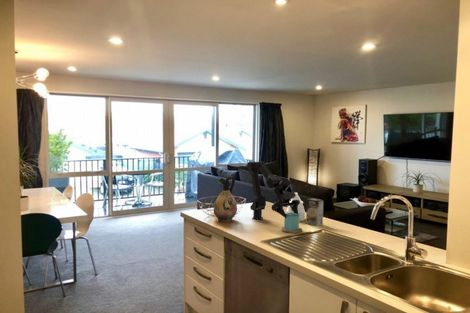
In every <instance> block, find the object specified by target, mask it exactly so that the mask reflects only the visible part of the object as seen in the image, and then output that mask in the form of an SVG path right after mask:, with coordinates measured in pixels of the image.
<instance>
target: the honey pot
mask: <svg viewBox="0 0 470 313" xmlns="http://www.w3.org/2000/svg"><path fill="white" fill-rule="evenodd" d="M294 193H295V195H296V196H295V197H294V198H292V199H291V201H290V202H289V203H291V202H292V201H293V200H299V201H300V204H299V205H298V214H299V222H300V221H301V222H302V221H304V220H305V221H306V211H305V207H304V205H303V204H304V201H302V199H301V198H300V196H299V193H298V192H294ZM286 207H287V208H286V210H285V213H294V212H293V211H292V210H291V208H290V206H286Z"/></svg>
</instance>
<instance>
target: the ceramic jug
mask: <svg viewBox="0 0 470 313" xmlns="http://www.w3.org/2000/svg"><path fill="white" fill-rule="evenodd" d="M229 180H231V182H230V181H229ZM235 182H236V179H235V176H233V175H227V177H225V178H219V179H218V181H217V183H218V185H220V186H223V189H222V190H221V192H220V193H219V194H218V196H217V198H216V200H215V201H214V205H213V212H214V213H213V214H214V216H215V217H216V218H217V221H218V222H221V223H228V222H229V223H230V222H232V221H233V218H234V217H235V216H236V214H237V212H238V205H237V201H236V199H235V197H234V196H233V189H234V186H235V184H236V183H235ZM229 186H230V187H229Z"/></svg>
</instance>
